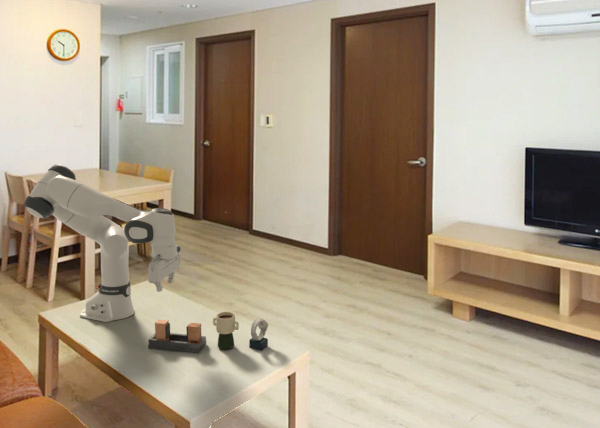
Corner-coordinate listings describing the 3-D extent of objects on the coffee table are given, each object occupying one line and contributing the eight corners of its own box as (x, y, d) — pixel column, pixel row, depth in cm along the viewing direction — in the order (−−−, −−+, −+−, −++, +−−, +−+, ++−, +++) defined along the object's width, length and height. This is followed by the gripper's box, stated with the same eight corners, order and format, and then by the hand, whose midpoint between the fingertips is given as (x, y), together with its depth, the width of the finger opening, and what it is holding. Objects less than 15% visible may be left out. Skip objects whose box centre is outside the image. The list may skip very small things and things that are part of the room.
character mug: (243, 345, 195) (243, 314, 192) (233, 353, 189) (233, 321, 186) (218, 340, 199) (218, 309, 196) (208, 348, 192) (208, 316, 190)
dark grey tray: (148, 348, 191) (147, 325, 189) (157, 339, 199) (156, 316, 197) (198, 354, 188) (198, 330, 186) (206, 344, 196) (205, 321, 194)
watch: (270, 344, 197) (270, 317, 195) (259, 352, 190) (259, 325, 188) (258, 340, 199) (258, 314, 197) (246, 349, 192) (246, 321, 190)
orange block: (155, 342, 193) (154, 322, 191) (159, 338, 196) (158, 319, 194) (167, 343, 192) (166, 324, 191) (170, 340, 195) (170, 320, 194)
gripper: (159, 260, 179) (160, 297, 182) (182, 245, 199) (183, 278, 202) (142, 258, 180) (144, 295, 183) (167, 244, 200) (168, 277, 203)
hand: (165, 286), depth 193 cm, fingers open, 8 cm apart
